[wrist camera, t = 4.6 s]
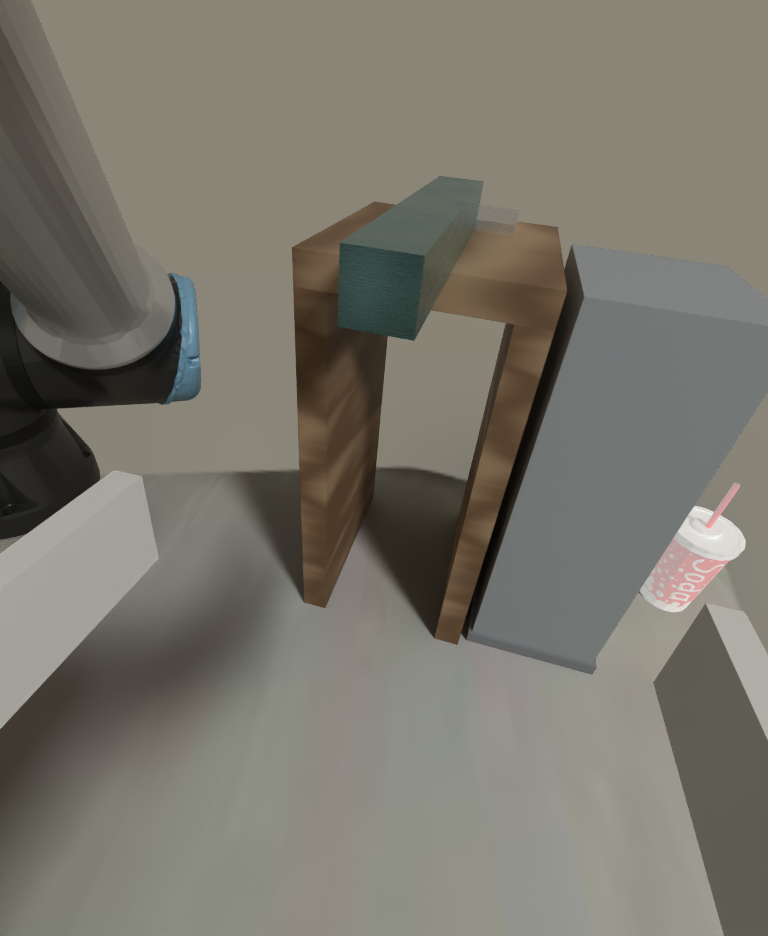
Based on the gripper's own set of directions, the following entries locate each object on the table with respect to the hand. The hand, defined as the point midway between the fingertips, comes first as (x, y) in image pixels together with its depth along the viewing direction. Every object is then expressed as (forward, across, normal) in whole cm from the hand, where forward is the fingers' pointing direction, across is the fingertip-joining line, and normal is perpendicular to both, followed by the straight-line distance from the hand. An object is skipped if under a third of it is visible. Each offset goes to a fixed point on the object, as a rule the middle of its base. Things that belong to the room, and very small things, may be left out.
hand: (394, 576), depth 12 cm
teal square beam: (+21, -2, +4) cm, 22 cm away
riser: (+28, -3, -25) cm, 38 cm away
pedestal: (+27, +10, -25) cm, 38 cm away
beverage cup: (+31, +24, -25) cm, 47 cm away
